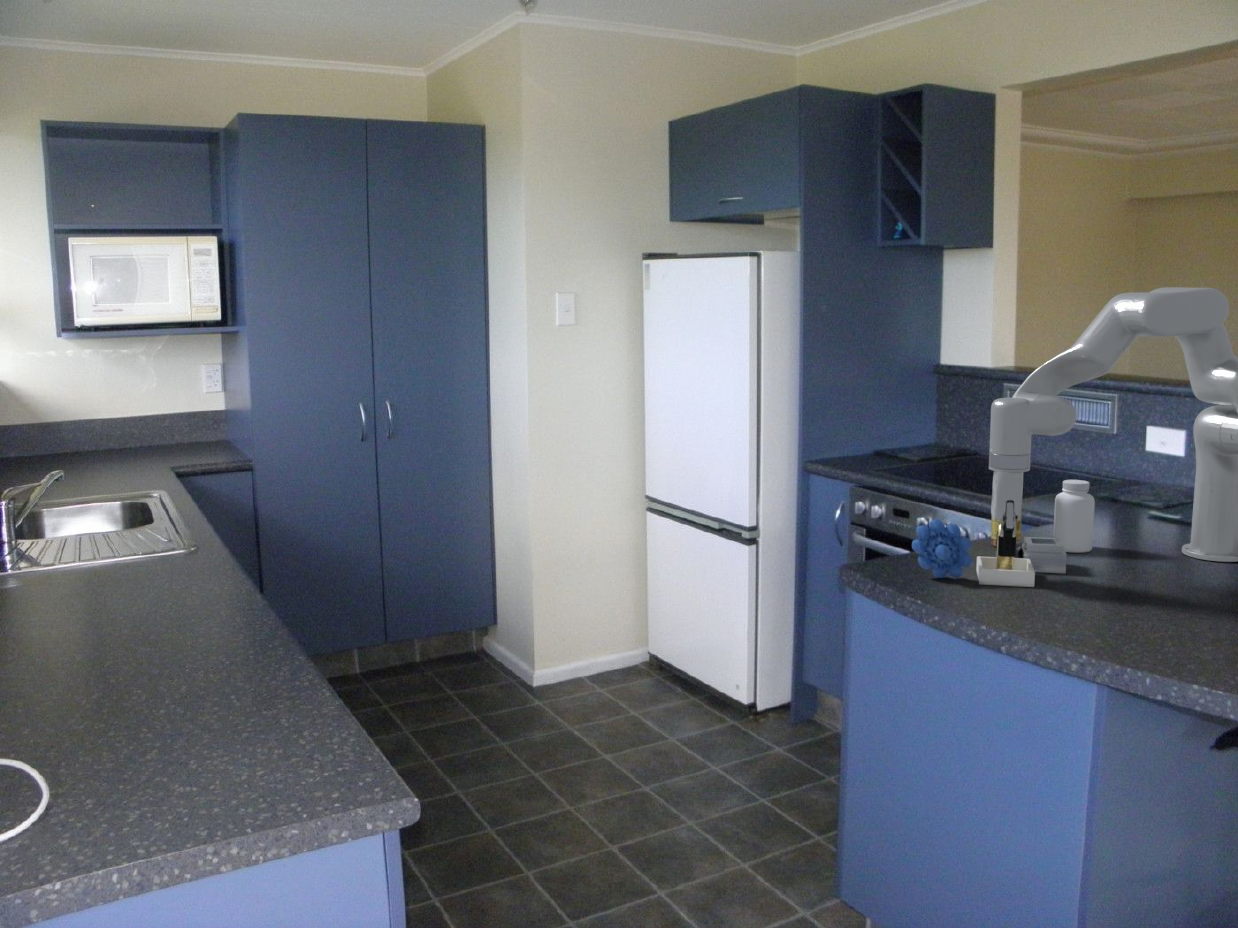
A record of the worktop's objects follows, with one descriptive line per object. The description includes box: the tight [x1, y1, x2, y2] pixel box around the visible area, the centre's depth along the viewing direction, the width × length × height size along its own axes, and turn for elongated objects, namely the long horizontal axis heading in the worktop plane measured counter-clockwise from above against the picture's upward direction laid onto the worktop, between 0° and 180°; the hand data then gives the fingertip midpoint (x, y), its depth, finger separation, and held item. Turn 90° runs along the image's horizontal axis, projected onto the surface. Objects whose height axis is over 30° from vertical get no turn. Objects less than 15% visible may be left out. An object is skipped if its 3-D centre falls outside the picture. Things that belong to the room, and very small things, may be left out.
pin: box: [996, 518, 1018, 570], centre depth 207 cm, size 4×4×11 cm
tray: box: [975, 555, 1036, 588], centre depth 208 cm, size 10×10×3 cm
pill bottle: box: [1052, 479, 1096, 554], centre depth 229 cm, size 8×8×15 cm
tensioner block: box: [995, 536, 1067, 575], centre depth 216 cm, size 13×8×6 cm, turn 74°
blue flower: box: [911, 518, 974, 579], centre depth 208 cm, size 12×7×12 cm, turn 77°
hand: (1005, 552), depth 208 cm, fingers closed on pin, 3 cm apart
